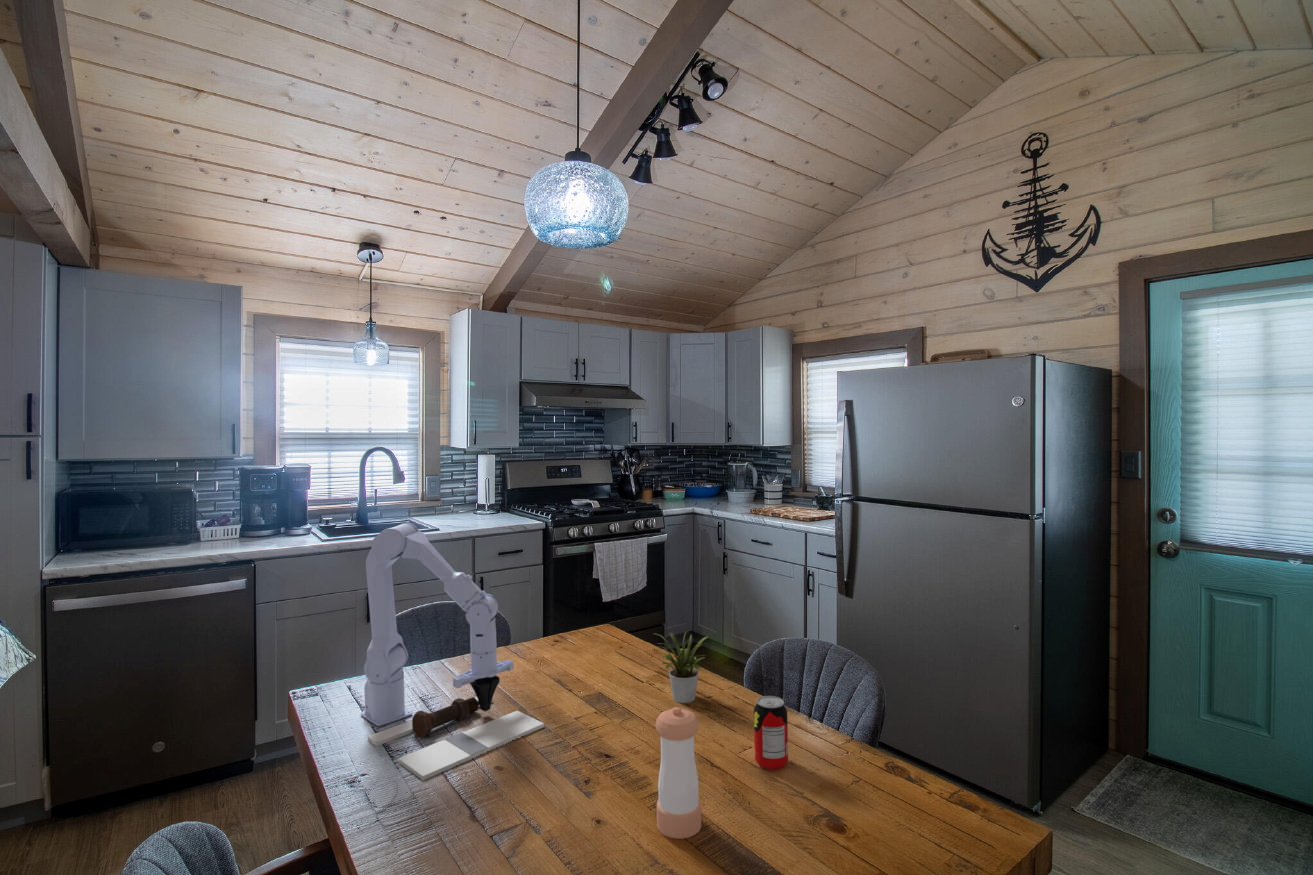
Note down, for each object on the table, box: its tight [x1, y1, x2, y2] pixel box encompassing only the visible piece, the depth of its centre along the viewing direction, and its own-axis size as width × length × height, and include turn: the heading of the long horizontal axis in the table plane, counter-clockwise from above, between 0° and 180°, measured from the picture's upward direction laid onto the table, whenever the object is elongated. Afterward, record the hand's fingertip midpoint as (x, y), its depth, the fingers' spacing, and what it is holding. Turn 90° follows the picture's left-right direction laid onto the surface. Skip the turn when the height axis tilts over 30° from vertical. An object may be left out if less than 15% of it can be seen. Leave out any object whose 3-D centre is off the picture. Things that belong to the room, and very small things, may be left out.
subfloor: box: [367, 696, 545, 781], centre depth 138 cm, size 24×28×1 cm
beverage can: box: [753, 695, 789, 771], centre depth 123 cm, size 6×6×12 cm
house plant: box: [652, 630, 710, 704], centre depth 153 cm, size 14×14×16 cm
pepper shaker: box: [655, 706, 702, 840], centre depth 104 cm, size 7×7×19 cm
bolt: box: [411, 696, 480, 739], centre depth 143 cm, size 6×5×15 cm
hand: (485, 709), depth 146 cm, fingers closed
